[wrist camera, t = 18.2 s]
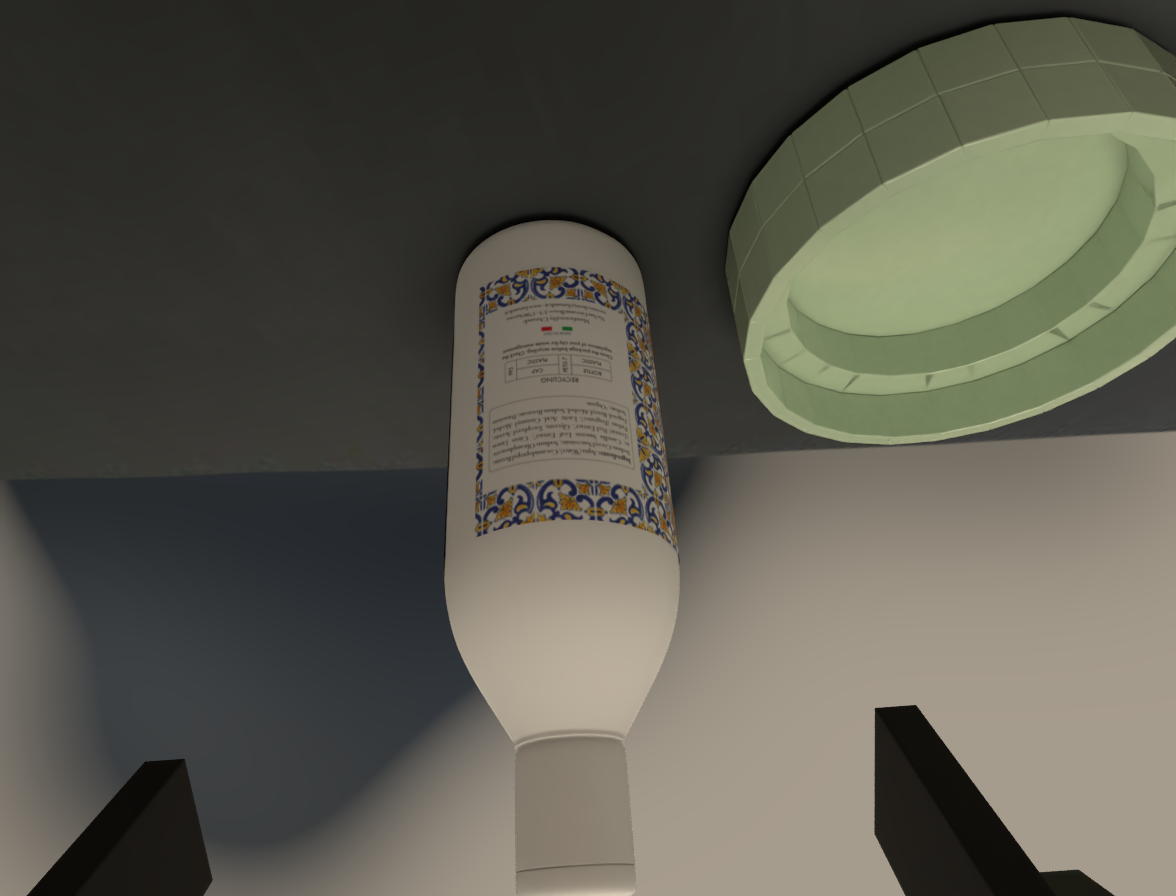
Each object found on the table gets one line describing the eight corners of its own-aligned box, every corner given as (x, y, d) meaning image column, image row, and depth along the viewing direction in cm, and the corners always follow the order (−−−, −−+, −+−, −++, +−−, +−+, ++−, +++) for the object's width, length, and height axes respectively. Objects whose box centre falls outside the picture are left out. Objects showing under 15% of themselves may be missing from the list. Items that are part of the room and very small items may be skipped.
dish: (757, 389, 36) (775, 474, 34) (683, 116, 24) (703, 221, 21) (1126, 303, 32) (1175, 392, 30) (1269, -76, 20) (1372, 25, 17)
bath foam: (577, 362, 33) (611, 902, 23) (425, 307, 30) (384, 913, 20) (680, 260, 29) (783, 884, 18) (514, 180, 25) (522, 894, 15)
